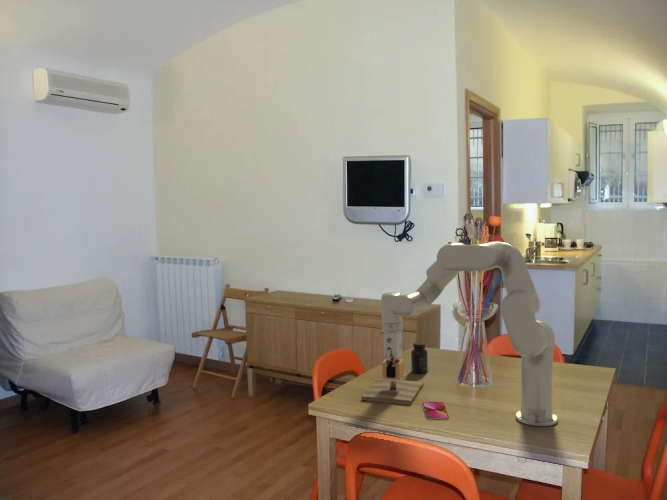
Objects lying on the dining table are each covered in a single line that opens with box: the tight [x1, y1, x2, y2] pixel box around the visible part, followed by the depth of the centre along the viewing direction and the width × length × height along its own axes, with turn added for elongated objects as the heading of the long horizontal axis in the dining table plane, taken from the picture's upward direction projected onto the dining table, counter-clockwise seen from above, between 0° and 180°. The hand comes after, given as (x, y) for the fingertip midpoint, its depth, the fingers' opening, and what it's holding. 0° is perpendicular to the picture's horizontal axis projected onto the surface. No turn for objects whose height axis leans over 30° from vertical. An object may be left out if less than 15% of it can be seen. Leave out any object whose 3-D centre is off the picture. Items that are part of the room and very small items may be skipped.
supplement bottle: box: [410, 341, 429, 375], centre depth 243 cm, size 7×7×12 cm
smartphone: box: [422, 401, 450, 421], centre depth 198 cm, size 7×1×15 cm
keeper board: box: [360, 378, 424, 406], centre depth 218 cm, size 22×18×2 cm
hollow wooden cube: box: [381, 358, 405, 380], centre depth 217 cm, size 6×6×6 cm
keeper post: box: [390, 379, 397, 390], centre depth 218 cm, size 3×3×8 cm
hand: (393, 374), depth 217 cm, fingers closed on hollow wooden cube, 6 cm apart
